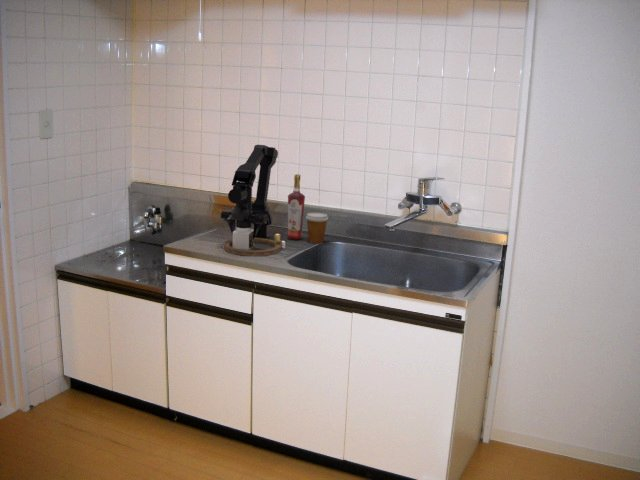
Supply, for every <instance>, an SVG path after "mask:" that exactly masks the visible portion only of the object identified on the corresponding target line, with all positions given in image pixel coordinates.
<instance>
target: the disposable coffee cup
mask: <svg viewBox="0 0 640 480" xmlns="http://www.w3.org/2000/svg"><path fill="white" fill-rule="evenodd" d="M305 219H306V223H307V224H306V225H307V235H308V242H309V243H310V244H314V245H315V244H316V245H317V244H323V243H324V239H325V234H326V228H327V223H328V221H329V220H328V219H329V217H328V214H327V213H323V212H315V211H314V212H308V213H306V216H305Z"/></svg>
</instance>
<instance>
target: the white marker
mask: <svg viewBox="0 0 640 480" xmlns="http://www.w3.org/2000/svg"><path fill="white" fill-rule="evenodd" d="M280 244H281V249H286V241H285V240H280Z"/></svg>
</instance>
